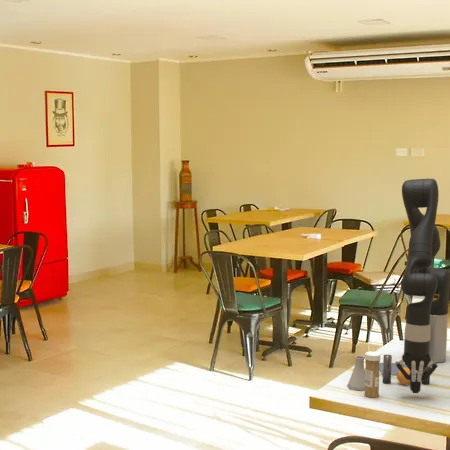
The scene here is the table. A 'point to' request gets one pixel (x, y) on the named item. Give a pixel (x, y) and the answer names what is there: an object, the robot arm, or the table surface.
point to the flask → (358, 375)
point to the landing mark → (393, 368)
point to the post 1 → (387, 369)
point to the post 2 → (427, 382)
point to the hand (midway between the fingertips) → (414, 392)
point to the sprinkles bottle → (372, 374)
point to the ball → (401, 376)
